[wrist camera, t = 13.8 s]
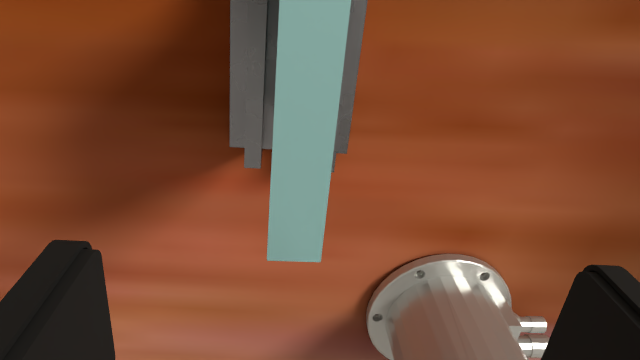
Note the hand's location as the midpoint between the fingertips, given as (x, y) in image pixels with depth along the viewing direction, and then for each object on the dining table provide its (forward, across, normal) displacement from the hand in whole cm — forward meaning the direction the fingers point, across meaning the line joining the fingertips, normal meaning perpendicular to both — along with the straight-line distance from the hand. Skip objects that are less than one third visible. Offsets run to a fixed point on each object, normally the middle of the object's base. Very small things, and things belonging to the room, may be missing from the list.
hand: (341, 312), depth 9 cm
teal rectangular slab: (+22, +1, -2) cm, 22 cm away
